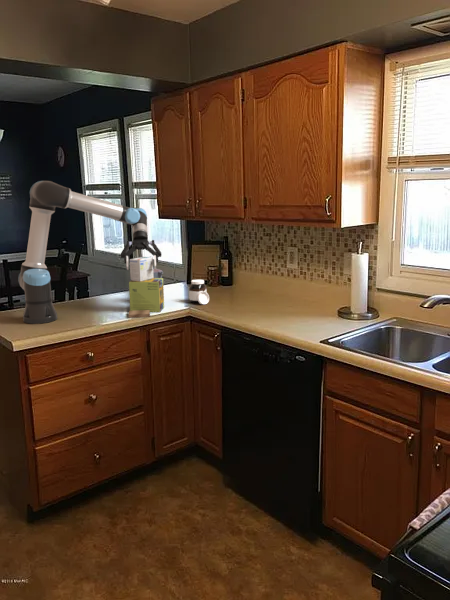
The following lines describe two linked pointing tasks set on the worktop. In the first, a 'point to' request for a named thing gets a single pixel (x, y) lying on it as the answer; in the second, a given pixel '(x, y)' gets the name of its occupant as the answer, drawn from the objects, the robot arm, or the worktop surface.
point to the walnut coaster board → (139, 313)
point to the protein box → (147, 295)
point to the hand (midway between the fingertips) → (141, 267)
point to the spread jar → (198, 292)
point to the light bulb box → (141, 268)
